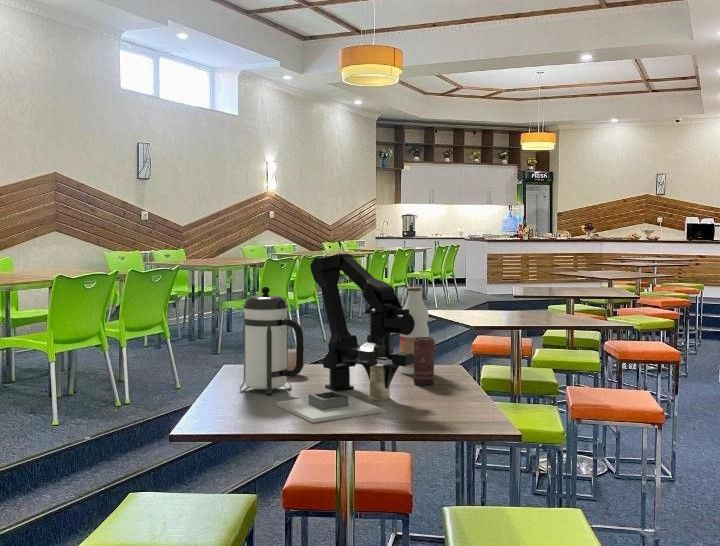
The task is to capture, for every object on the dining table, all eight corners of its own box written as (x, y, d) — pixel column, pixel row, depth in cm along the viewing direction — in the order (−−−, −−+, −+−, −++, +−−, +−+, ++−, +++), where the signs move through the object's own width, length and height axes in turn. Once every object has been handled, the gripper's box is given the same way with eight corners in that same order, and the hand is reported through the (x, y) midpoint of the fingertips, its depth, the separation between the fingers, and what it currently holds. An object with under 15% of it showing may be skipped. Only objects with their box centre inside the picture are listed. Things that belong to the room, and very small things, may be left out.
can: (433, 386, 211) (434, 339, 210) (412, 385, 212) (412, 339, 211) (435, 382, 217) (436, 336, 216) (414, 381, 218) (415, 336, 217)
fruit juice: (410, 376, 226) (411, 288, 224) (394, 371, 234) (394, 286, 232) (434, 373, 231) (435, 287, 229) (417, 368, 239) (418, 285, 237)
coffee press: (240, 398, 194) (240, 289, 193) (238, 385, 210) (238, 284, 208) (303, 395, 198) (303, 288, 196) (296, 383, 213) (297, 284, 212)
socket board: (276, 405, 186) (276, 401, 186) (342, 396, 197) (342, 393, 197) (312, 422, 169) (312, 418, 169) (381, 412, 180) (382, 408, 180)
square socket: (308, 403, 184) (308, 394, 184) (333, 400, 188) (333, 390, 188) (322, 409, 178) (322, 400, 178) (348, 406, 182) (348, 396, 182)
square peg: (369, 398, 195) (370, 366, 194) (377, 396, 198) (377, 364, 197) (382, 400, 192) (382, 367, 192) (389, 398, 196) (390, 365, 195)
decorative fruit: (284, 379, 219) (284, 347, 219) (273, 375, 226) (273, 344, 226) (311, 376, 224) (311, 345, 224) (299, 372, 231) (299, 341, 231)
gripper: (335, 331, 192) (335, 388, 193) (395, 337, 182) (394, 397, 183) (358, 327, 202) (357, 381, 203) (415, 332, 192) (415, 389, 193)
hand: (380, 387), depth 195 cm, fingers closed on square peg, 4 cm apart
